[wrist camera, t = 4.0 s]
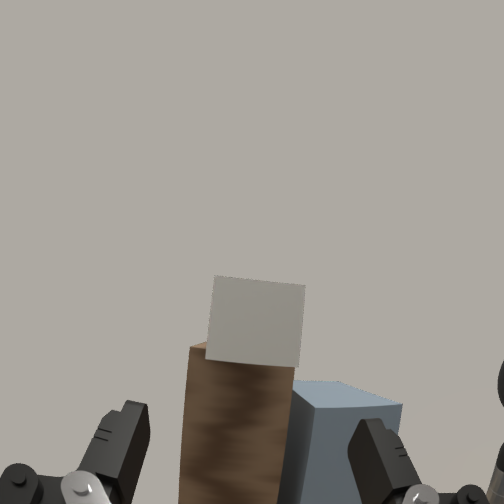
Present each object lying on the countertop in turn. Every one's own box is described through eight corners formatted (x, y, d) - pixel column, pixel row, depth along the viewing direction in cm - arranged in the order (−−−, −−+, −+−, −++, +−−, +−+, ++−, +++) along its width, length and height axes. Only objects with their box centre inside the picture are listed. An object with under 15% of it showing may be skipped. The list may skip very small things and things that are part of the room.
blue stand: (309, 541, 31) (338, 381, 39) (341, 606, 15) (402, 403, 22) (257, 543, 31) (280, 379, 38) (271, 614, 15) (315, 407, 22)
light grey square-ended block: (254, 347, 39) (257, 314, 40) (298, 367, 14) (305, 280, 15) (219, 343, 39) (223, 310, 40) (204, 358, 14) (215, 270, 15)
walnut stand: (244, 542, 31) (268, 348, 39) (253, 614, 15) (295, 357, 23) (190, 538, 31) (205, 341, 39) (178, 609, 14) (189, 346, 23)
